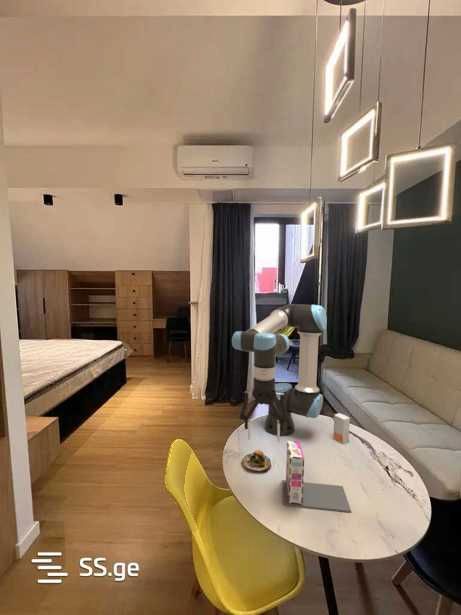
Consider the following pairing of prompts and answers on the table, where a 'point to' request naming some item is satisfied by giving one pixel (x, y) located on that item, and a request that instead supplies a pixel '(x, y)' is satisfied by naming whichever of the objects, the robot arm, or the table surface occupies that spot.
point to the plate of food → (257, 461)
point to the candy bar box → (294, 472)
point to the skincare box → (341, 428)
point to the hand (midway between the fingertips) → (263, 438)
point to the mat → (320, 497)
